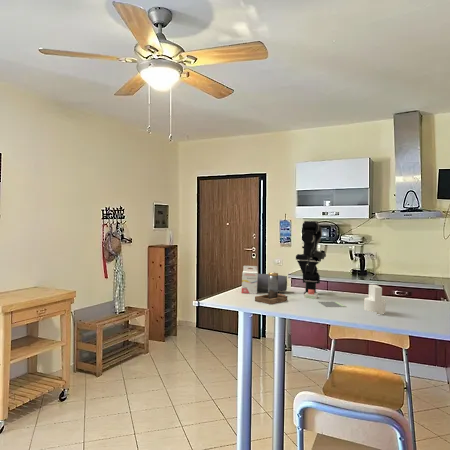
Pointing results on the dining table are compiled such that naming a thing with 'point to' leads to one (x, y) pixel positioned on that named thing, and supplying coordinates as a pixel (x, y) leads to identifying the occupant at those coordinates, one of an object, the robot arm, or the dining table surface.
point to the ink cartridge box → (249, 279)
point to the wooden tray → (270, 301)
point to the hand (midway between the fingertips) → (307, 274)
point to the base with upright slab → (375, 300)
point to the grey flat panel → (332, 304)
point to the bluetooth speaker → (263, 283)
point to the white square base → (311, 295)
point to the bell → (272, 285)
